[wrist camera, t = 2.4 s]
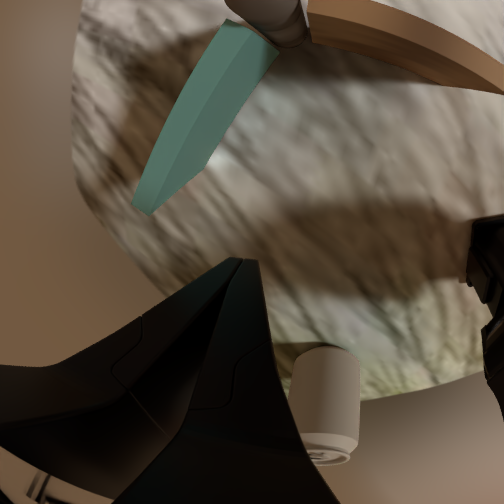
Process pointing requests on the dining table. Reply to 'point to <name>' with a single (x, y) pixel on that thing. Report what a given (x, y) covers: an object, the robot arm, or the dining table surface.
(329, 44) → the fixed leaf
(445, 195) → the dining table surface
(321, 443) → the can
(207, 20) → the dining table surface
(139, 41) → the dining table surface
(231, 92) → the hinge leaf
